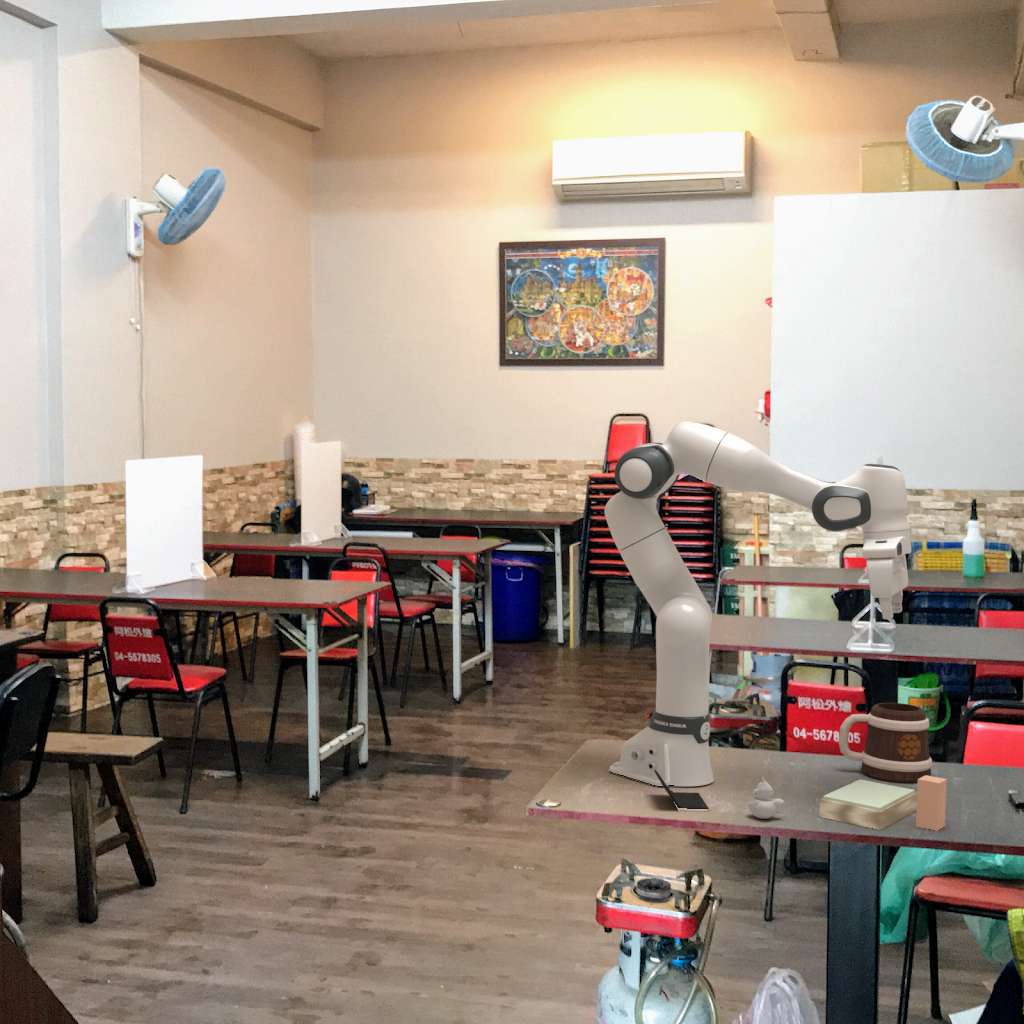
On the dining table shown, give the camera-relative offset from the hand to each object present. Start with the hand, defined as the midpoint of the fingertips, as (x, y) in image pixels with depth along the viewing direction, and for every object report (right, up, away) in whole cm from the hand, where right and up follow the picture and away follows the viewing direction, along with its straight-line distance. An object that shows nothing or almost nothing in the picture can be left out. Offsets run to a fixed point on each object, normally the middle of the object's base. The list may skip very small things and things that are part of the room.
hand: (892, 615), depth 235 cm
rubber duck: (-27, -38, -9) cm, 47 cm away
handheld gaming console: (-42, -37, 0) cm, 56 cm away
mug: (+7, -37, +27) cm, 47 cm away
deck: (-6, -38, -4) cm, 39 cm away
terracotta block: (+3, -38, -12) cm, 40 cm away
